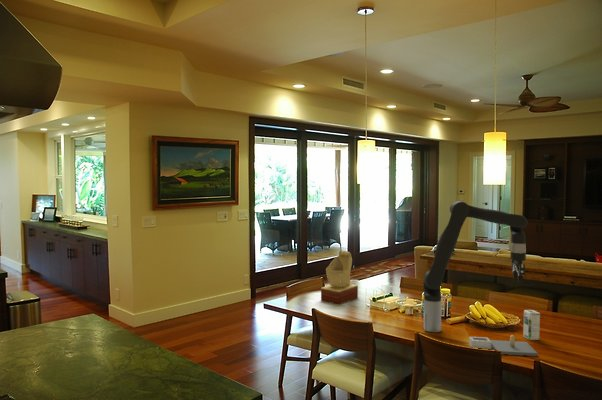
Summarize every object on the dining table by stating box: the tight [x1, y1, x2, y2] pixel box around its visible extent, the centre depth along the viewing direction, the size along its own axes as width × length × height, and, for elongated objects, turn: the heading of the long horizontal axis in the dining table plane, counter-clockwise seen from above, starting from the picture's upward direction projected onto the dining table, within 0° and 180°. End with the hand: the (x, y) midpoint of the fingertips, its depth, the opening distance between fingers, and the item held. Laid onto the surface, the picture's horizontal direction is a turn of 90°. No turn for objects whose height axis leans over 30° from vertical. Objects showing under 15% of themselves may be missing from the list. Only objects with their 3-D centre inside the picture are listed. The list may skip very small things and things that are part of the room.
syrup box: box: [522, 309, 541, 341], centre depth 228 cm, size 6×6×14 cm
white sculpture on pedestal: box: [320, 248, 359, 305], centre depth 310 cm, size 25×18×35 cm
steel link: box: [468, 336, 492, 350], centre depth 216 cm, size 9×6×4 cm, turn 81°
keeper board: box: [489, 334, 538, 357], centre depth 212 cm, size 18×15×7 cm
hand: (517, 280), depth 234 cm, fingers open, 8 cm apart
